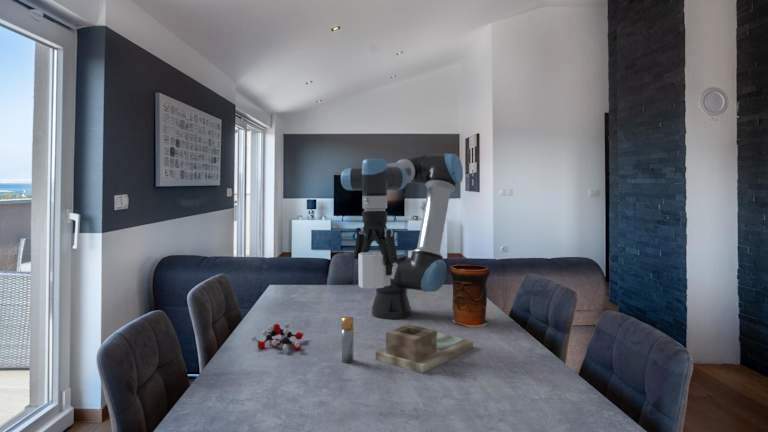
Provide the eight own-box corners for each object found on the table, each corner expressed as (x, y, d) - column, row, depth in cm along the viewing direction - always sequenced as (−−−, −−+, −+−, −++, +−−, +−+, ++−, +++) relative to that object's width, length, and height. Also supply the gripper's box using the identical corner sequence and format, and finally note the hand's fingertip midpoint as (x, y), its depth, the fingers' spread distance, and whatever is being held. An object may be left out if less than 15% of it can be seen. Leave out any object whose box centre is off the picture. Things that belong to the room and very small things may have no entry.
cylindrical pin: (339, 361, 128) (339, 318, 127) (347, 358, 130) (347, 315, 129) (347, 364, 125) (347, 320, 125) (355, 360, 128) (355, 317, 127)
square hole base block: (375, 359, 129) (375, 330, 129) (428, 336, 149) (428, 312, 148) (422, 373, 119) (422, 342, 118) (472, 347, 139) (473, 321, 138)
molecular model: (280, 335, 151) (318, 331, 145) (262, 366, 140) (303, 363, 134) (265, 312, 146) (304, 307, 140) (245, 343, 136) (287, 339, 130)
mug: (359, 289, 136) (359, 256, 135) (357, 283, 145) (357, 252, 144) (399, 287, 138) (399, 255, 137) (395, 282, 146) (395, 251, 145)
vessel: (440, 321, 166) (441, 266, 165) (462, 314, 176) (463, 262, 176) (474, 330, 156) (476, 271, 155) (496, 322, 167) (497, 267, 166)
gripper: (341, 209, 144) (342, 281, 146) (394, 211, 131) (394, 290, 132) (357, 208, 150) (358, 277, 151) (410, 210, 136) (410, 286, 138)
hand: (375, 283), depth 142 cm, fingers closed on mug, 8 cm apart
